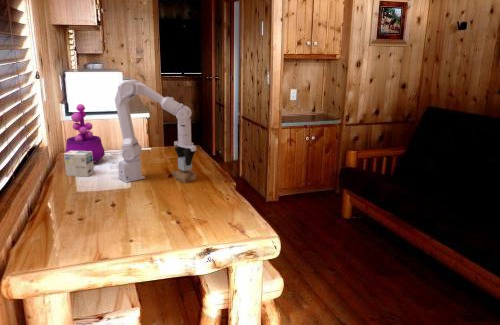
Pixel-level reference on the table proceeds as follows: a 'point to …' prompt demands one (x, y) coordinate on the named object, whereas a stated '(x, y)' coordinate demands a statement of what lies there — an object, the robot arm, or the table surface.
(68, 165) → the light bulb box
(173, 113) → the robot arm
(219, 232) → the table surface
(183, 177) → the walnut block
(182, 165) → the gray block
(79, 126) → the decorative plant
